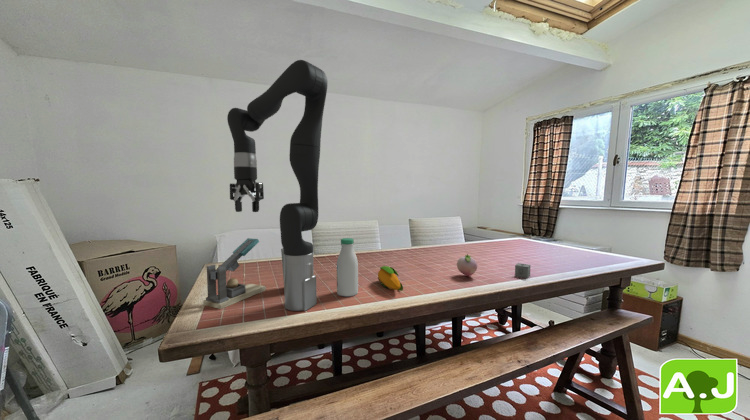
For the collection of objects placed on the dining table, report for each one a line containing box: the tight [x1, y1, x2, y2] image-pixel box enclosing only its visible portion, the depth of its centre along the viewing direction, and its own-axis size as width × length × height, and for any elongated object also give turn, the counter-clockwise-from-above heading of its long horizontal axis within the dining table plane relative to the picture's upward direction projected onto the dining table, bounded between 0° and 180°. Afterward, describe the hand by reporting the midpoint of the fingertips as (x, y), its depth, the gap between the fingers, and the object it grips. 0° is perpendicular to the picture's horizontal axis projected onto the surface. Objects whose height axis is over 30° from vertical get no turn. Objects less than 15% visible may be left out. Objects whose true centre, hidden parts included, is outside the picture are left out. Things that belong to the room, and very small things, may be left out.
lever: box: [210, 237, 260, 281], centre depth 98 cm, size 5×17×11 cm, turn 157°
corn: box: [377, 265, 404, 291], centre depth 109 cm, size 7×8×20 cm
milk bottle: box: [336, 237, 359, 297], centre depth 102 cm, size 8×8×20 cm
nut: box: [226, 277, 239, 289], centre depth 97 cm, size 4×4×4 cm
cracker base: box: [202, 264, 267, 310], centre depth 98 cm, size 8×19×13 cm, turn 157°
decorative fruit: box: [456, 253, 478, 278], centre depth 123 cm, size 9×8×10 cm
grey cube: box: [514, 262, 531, 279], centre depth 124 cm, size 5×5×5 cm
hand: (247, 211), depth 102 cm, fingers open, 7 cm apart
